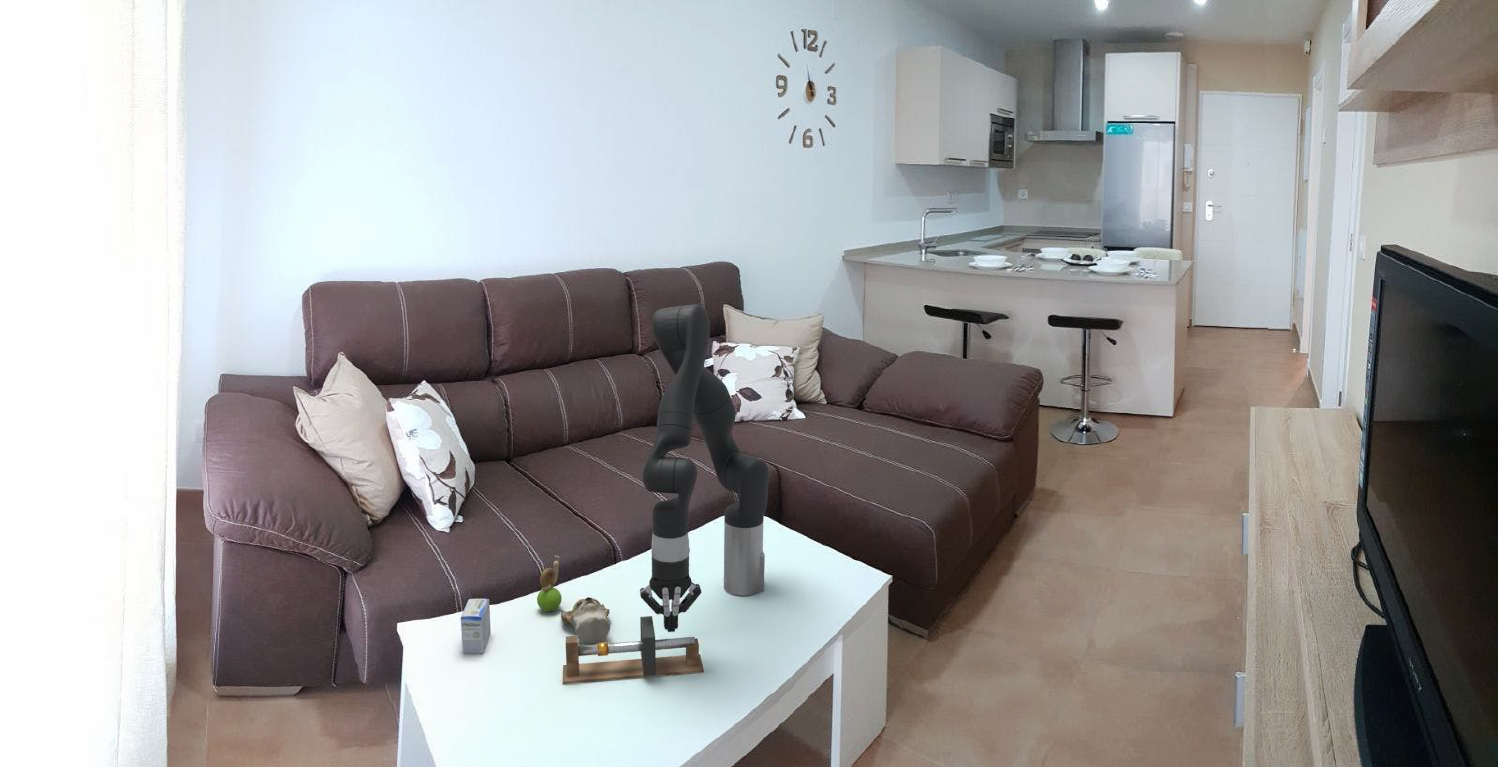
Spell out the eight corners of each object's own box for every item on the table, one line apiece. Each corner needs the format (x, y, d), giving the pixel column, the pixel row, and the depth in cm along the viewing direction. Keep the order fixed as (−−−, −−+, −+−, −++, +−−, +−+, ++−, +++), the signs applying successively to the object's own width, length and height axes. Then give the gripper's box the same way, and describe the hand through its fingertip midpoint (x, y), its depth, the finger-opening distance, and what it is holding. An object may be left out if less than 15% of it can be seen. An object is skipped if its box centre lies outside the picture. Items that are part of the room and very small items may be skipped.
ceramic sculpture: (569, 614, 194) (557, 586, 207) (570, 653, 195) (558, 623, 209) (620, 607, 197) (604, 580, 211) (621, 645, 199) (605, 615, 213)
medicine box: (470, 634, 202) (467, 598, 200) (491, 634, 203) (489, 597, 200) (462, 654, 195) (459, 616, 192) (484, 653, 195) (481, 616, 193)
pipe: (694, 644, 192) (694, 632, 192) (695, 650, 190) (695, 639, 189) (569, 654, 188) (569, 642, 187) (569, 661, 185) (569, 649, 185)
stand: (700, 656, 195) (700, 622, 193) (703, 672, 189) (704, 636, 187) (563, 667, 190) (561, 632, 188) (562, 684, 185) (561, 648, 182)
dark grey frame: (652, 652, 194) (652, 616, 192) (655, 675, 186) (655, 637, 184) (640, 653, 194) (640, 616, 192) (643, 676, 186) (643, 638, 184)
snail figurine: (569, 605, 215) (567, 557, 212) (552, 618, 210) (550, 568, 206) (550, 600, 217) (548, 552, 214) (532, 612, 212) (530, 563, 209)
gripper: (700, 542, 193) (700, 618, 197) (636, 546, 190) (637, 623, 195) (705, 558, 186) (705, 637, 190) (638, 562, 183) (639, 642, 188)
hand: (670, 630), depth 192 cm, fingers closed
